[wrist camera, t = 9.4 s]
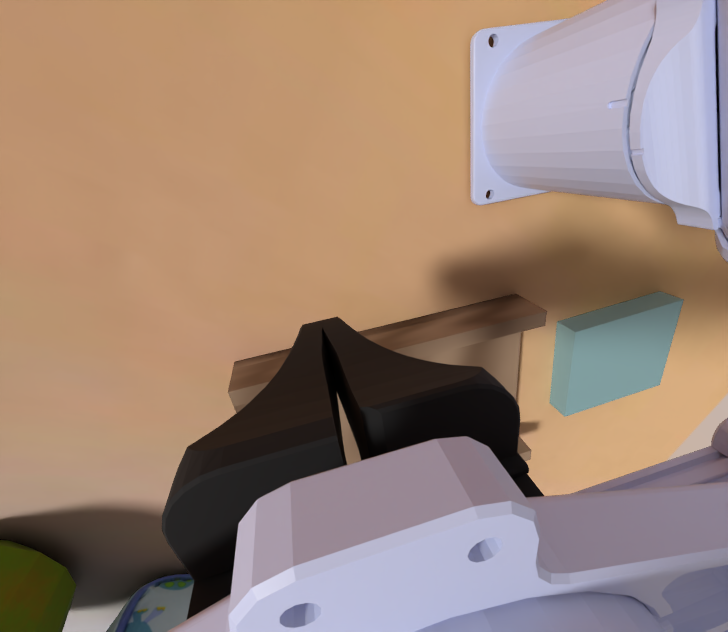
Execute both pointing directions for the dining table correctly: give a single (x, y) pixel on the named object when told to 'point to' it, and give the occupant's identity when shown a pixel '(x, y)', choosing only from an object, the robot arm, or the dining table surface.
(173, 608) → the lunch box
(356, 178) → the dining table surface
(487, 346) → the box
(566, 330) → the teal square tile
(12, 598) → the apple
